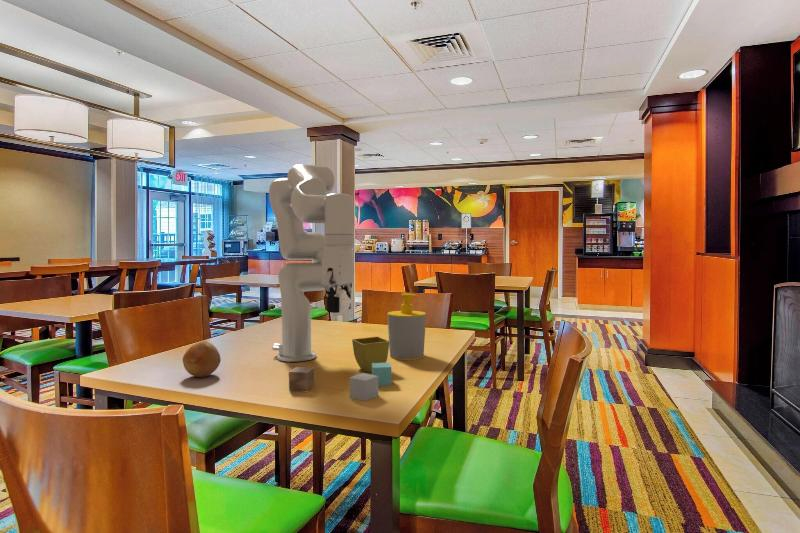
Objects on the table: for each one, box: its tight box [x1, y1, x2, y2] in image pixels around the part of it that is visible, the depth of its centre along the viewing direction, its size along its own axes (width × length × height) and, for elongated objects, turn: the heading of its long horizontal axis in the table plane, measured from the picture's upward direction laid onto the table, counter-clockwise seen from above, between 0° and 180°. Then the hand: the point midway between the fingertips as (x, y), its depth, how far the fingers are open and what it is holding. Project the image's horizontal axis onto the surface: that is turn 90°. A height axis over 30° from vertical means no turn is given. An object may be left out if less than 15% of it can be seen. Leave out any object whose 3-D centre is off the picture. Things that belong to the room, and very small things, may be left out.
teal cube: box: [371, 362, 392, 387], centre depth 126 cm, size 5×5×5 cm
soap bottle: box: [386, 292, 427, 361], centre depth 156 cm, size 13×13×21 cm
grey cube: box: [349, 372, 379, 402], centre depth 114 cm, size 5×5×5 cm
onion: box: [182, 340, 222, 379], centre depth 132 cm, size 10×10×10 cm
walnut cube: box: [288, 366, 315, 392], centre depth 121 cm, size 5×5×5 cm
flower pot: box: [351, 336, 389, 373], centre depth 139 cm, size 9×9×9 cm
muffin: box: [332, 287, 352, 316], centre depth 121 cm, size 6×6×7 cm
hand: (339, 310), depth 121 cm, fingers closed on muffin, 6 cm apart
